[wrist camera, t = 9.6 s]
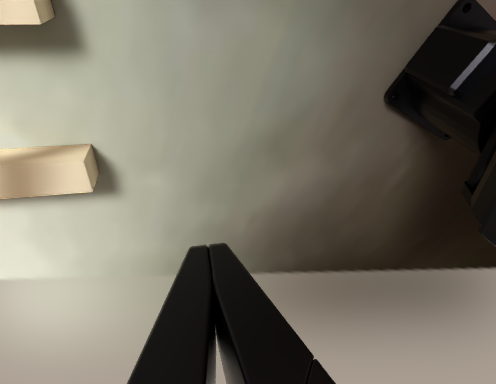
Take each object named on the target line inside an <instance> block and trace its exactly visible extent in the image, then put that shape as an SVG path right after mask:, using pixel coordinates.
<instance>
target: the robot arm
mask: <svg viewBox="0 0 496 384" xmlns="http://www.w3.org/2000/svg"><path fill="white" fill-rule="evenodd" d="M465 4H466V8H465V10H464V11H462V10H463V7H464V5H465ZM394 93H396V95H395V97H394V98H392V95H393V94H394ZM384 98H385V100H386V101H387V102H388V103H389V104H391V105H392V106H394V107H395V108H397V109H398V110H400V111H401V112H403V113H404V114H406V115H407V116H409V117H410V118H412V119H413V120H415V121H416V122H418V123H419V124H421V125H422V126H423V127H425V128H426V129H428V130H429V131H431V132H432V133H434V134H435V135H437V136H438V137H440V138H441V139H443V140H448V139H450V138H454V139H455V140H457V141H458V142H460V143H461V144H463V145H464V146H466V147H467V148H469V149H470V150H472V151H473V152H475V153H476V154H478V155H479V159H478V161H477V163H476V165H475V167H474V169H473V171H472V173H471V175H470V177H469V179H468V181H465V183H464V185H463V187H462V189H461V192H462V193H463V195H464V197H465V199H466V200H467V202H468V204H469V205H470V207H471V209H472V211H473V213H474V214H475V216H476V218H477V219H478V221H479V223H480V224H481V226H480V227H479V231H480V233H481V234H482V235H483V237H485V238H486V239H487V240H488V241H489V242H490V243H491V244H492V245H494V246H495V247H496V21H495V20H494V19H493V18H492V17H491V16H490V15H489V14H488V13H487V11H486V10H485V9H484V8H483V7H482V6H481V5H480V4H479V3H478V2H477V1H476V0H458V1H457V2H456V3H455V5H454V6H453V7H452V8H451V10H450V11H449V12H448V13H447V15H446V16H445V17H444V19H443V20H442V21H441V22H440V24H439V25H438V26H437V27H436V28H435V29H434V31H433V32H432V33H431V34H430V36H429V37H428V38H427V40H426V41H425V42H424V43H423V45H422V46H421V47H420V48H419V50H418V51H417V52H416V54H415V55H414V56H413V57H412V59H411V60H410V61H409V62H408V64H407V65H406V67H405V68H404V69H403V71H402V72H401V73H400V74H399V76H398V77H397V78H396V80H395V81H394V82H393V83H392V85H391V86H390V87H389V88H388V90H387V91H386V93H385V96H384ZM445 133H446V134H445ZM215 328H216V332H215ZM216 336H217V342H218V347H219V352H220V356H221V361H222V365H223V370H224V374H225V378H226V383H227V384H336V383H335V382H334V381H333V380H332V379H331V377H330V376H329V375H328V373H327V372H326V371H325V369H324V368H323V367H322V366H321V364H320V363H319V362H318V360H316V359H314V360H313V358H314V356H313V355H312V353H311V352H310V351H309V349H308V348H307V347H306V345H305V344H304V343H303V341H302V340H301V339H300V338H299V336H298V335H297V334H296V332H295V331H294V330H293V329H292V327H291V326H290V325H289V324H288V322H287V321H286V320H285V318H284V317H283V316H282V315H281V313H280V312H279V311H278V309H277V308H276V307H275V306H274V304H273V303H272V302H271V300H270V299H269V298H268V297H267V295H266V294H265V293H264V292H263V290H262V289H261V288H260V286H259V285H258V284H257V282H256V281H255V280H254V279H253V277H252V276H251V275H250V273H249V272H248V271H247V270H246V268H245V267H244V266H243V264H242V263H241V262H240V261H239V259H238V258H237V257H236V255H235V254H234V253H233V252H232V250H231V249H230V248H229V246H228V245H227V244H225V243H218V244H210V245H209V246H208V247H207V246H206V245H200V246H192V247H190V248H189V250H188V252H187V254H186V256H185V258H184V260H183V263H182V265H181V267H180V269H179V271H178V273H177V276H176V278H175V280H174V282H173V284H172V287H171V289H170V291H169V293H168V295H167V297H166V300H165V302H164V304H163V306H162V309H161V311H160V313H159V315H158V317H157V319H156V321H155V324H154V326H153V328H152V330H151V332H150V335H149V337H148V339H147V341H146V343H145V345H144V348H143V350H142V352H141V354H140V356H139V359H138V361H137V363H136V365H135V367H134V369H133V372H132V374H131V376H130V378H129V380H128V383H127V384H215V378H216Z"/></svg>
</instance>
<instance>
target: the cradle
mask: <svg viewBox="0 0 496 384" xmlns="http://www.w3.org/2000/svg"><path fill="white" fill-rule="evenodd" d="M54 17H55V15H54V11H53V8H52V4H51V1H50V0H0V25H10V24H43V23H45V22H46V21H48V20H50V19H52V18H54ZM98 175H99V170H98V167H97V163H96V160H95V156H94V153H93V149H92V146H91V144H84V145H67V146H50V147H32V148H15V149H0V199H8V198H21V197H34V196H47V195H60V194H72V193H85V192H93V190H94V187H95V184H96V181H97V178H98Z"/></svg>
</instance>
